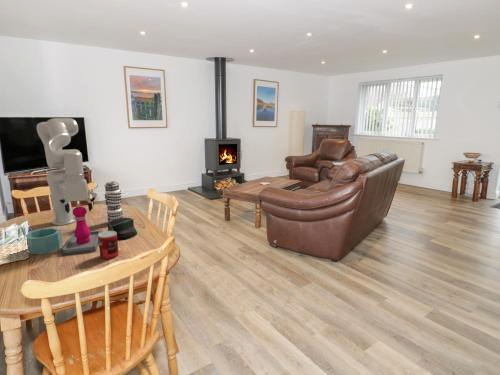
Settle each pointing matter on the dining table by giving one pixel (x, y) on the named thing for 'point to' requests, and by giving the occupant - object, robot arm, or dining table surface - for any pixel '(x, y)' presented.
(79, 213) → the pepper mill
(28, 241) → the crock
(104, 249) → the canned food
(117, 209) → the gray white banded cylinder
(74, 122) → the robot arm
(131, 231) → the black hat
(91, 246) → the tray
